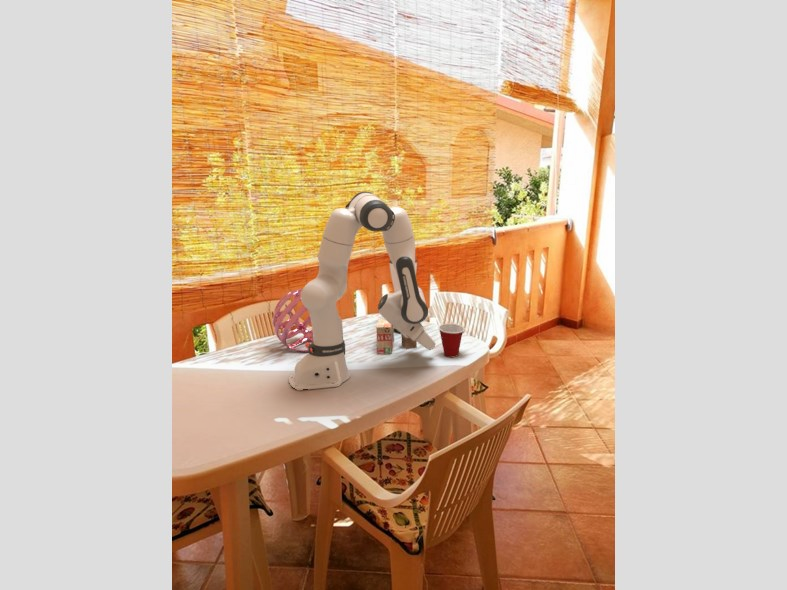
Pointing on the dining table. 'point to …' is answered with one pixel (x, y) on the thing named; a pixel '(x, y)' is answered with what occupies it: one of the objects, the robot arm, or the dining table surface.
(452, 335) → the plastic cup
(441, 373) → the dining table surface
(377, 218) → the robot arm
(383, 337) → the stack of blocks
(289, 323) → the spiral basket
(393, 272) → the green blender
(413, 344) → the walnut block
